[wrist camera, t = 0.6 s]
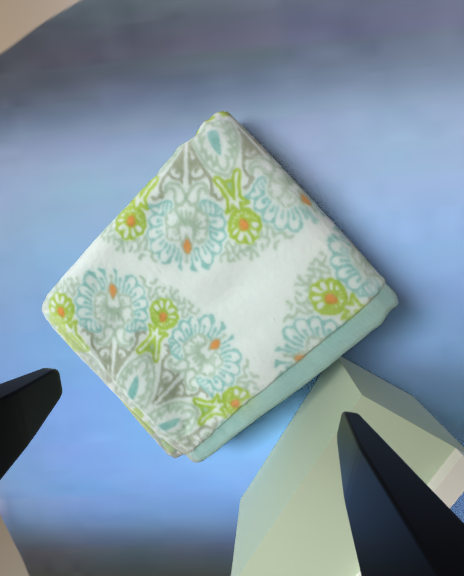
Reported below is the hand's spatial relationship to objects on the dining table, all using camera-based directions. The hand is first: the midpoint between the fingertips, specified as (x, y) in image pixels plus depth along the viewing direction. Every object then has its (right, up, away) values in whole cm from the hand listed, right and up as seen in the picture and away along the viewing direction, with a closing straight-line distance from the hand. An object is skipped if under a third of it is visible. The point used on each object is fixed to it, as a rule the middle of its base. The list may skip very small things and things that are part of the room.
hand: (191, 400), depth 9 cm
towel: (0, +3, +16) cm, 16 cm away
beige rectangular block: (+9, -10, +15) cm, 21 cm away
